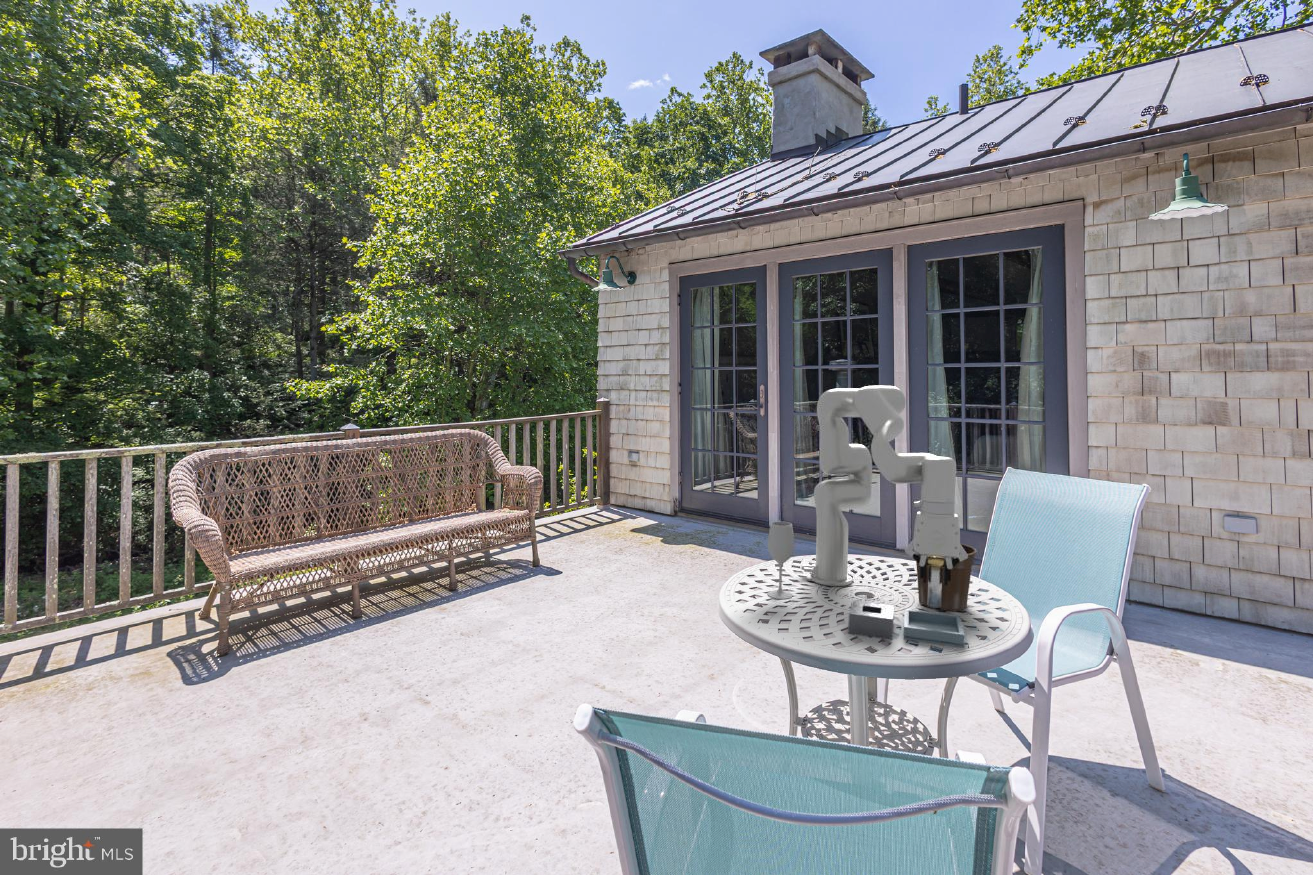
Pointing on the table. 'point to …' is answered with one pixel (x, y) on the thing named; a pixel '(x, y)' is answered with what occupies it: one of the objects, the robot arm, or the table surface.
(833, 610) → the table surface
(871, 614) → the block
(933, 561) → the pin
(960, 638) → the tray
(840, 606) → the table surface
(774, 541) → the wineglass
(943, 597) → the plant pot
